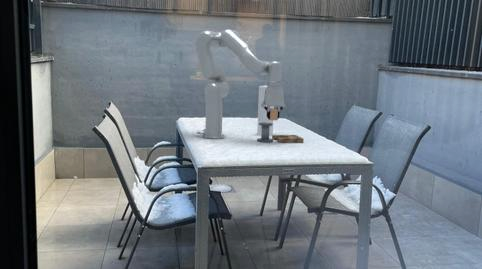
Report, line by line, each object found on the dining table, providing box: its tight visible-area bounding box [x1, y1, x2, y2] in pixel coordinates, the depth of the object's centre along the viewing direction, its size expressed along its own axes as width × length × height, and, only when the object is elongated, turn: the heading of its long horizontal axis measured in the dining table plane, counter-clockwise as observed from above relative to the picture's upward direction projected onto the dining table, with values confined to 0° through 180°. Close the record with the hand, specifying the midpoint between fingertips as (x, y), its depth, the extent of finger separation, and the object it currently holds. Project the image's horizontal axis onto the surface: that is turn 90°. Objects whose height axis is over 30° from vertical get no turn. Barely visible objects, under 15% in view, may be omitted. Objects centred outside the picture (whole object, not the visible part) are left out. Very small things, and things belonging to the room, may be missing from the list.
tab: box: [268, 108, 278, 121], centre depth 246 cm, size 4×4×6 cm
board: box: [271, 134, 305, 144], centre depth 257 cm, size 14×14×2 cm
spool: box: [256, 122, 274, 143], centre depth 254 cm, size 9×9×10 cm
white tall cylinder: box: [256, 84, 275, 137], centre depth 275 cm, size 9×9×30 cm
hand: (272, 118), depth 247 cm, fingers closed on tab, 4 cm apart
